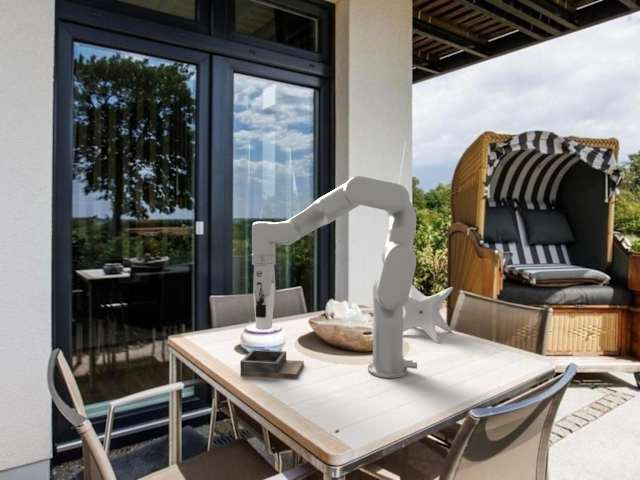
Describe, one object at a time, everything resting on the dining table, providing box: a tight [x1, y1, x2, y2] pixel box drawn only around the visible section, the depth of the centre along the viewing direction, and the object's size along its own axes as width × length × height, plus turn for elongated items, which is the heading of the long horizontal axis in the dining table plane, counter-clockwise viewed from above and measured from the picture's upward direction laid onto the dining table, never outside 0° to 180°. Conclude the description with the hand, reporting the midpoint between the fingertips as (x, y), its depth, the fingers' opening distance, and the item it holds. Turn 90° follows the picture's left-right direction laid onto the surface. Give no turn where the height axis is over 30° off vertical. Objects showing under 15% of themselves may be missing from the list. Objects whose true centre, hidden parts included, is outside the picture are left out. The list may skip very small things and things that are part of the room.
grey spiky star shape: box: [403, 284, 454, 344], centre depth 182 cm, size 20×20×20 cm
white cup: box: [252, 282, 275, 331], centre depth 138 cm, size 7×7×15 cm
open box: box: [240, 349, 305, 380], centre depth 139 cm, size 18×12×4 cm, turn 81°
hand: (263, 314), depth 138 cm, fingers closed on white cup, 6 cm apart
